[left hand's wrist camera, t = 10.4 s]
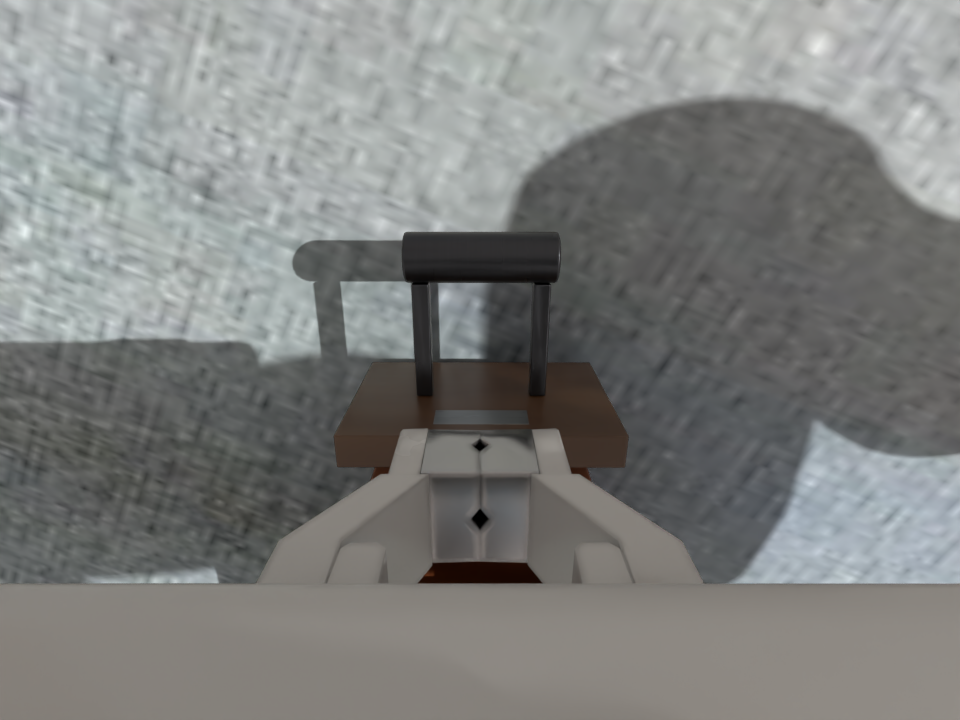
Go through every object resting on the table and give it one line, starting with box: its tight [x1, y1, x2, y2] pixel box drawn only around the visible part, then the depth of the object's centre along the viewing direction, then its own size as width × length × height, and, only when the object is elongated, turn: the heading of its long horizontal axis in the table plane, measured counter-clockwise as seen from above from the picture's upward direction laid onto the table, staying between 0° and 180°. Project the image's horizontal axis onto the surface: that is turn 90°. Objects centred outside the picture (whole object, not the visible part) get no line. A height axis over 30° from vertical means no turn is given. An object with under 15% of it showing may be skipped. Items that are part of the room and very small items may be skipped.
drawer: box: [334, 232, 629, 584], centre depth 22 cm, size 24×10×6 cm, turn 0°
